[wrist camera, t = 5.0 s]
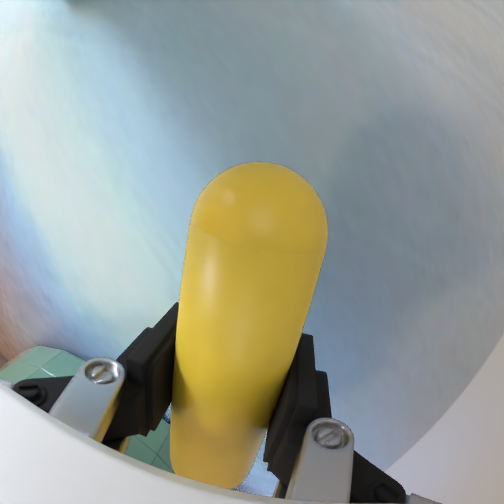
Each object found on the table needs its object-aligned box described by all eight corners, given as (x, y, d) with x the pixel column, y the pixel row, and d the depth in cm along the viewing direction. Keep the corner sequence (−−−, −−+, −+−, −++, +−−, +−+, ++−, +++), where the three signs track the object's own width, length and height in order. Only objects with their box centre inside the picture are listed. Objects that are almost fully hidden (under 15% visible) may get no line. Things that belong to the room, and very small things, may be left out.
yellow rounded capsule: (221, 155, 9) (180, 144, 6) (333, 179, 9) (356, 179, 5) (182, 439, 13) (159, 490, 9) (249, 457, 12) (237, 512, 9)
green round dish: (5, 308, 16) (-44, 333, 11) (220, 406, 15) (192, 481, 9) (46, 446, 21) (21, 473, 15) (196, 518, 19) (181, 559, 14)
